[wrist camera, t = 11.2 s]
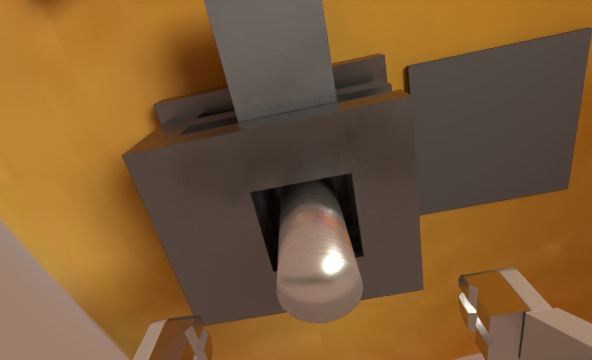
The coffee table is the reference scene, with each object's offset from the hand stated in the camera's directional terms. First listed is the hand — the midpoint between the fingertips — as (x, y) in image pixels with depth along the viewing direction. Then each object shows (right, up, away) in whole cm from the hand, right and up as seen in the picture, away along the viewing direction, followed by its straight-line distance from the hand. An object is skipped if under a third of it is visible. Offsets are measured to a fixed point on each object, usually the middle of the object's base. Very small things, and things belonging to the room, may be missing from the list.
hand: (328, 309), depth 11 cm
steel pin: (0, +4, +10) cm, 11 cm away
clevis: (-2, +7, +10) cm, 13 cm away
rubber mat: (+11, +7, +10) cm, 17 cm away
